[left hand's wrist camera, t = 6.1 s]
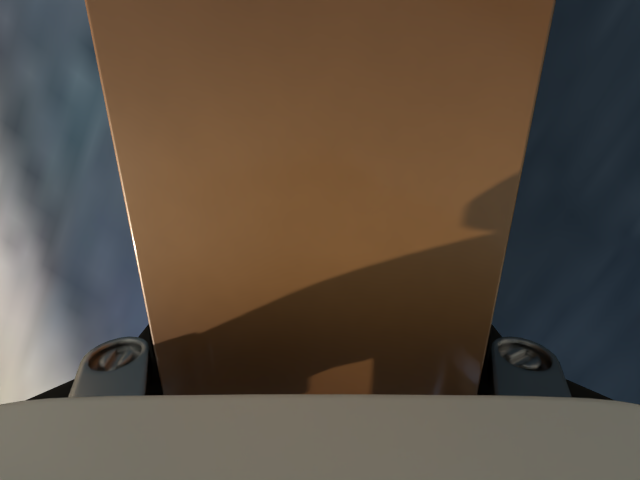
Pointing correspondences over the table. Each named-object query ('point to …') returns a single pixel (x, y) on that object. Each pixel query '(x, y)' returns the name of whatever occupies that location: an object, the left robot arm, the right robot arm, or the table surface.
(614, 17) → the table surface
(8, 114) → the table surface
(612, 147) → the table surface
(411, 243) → the bar
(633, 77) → the table surface
